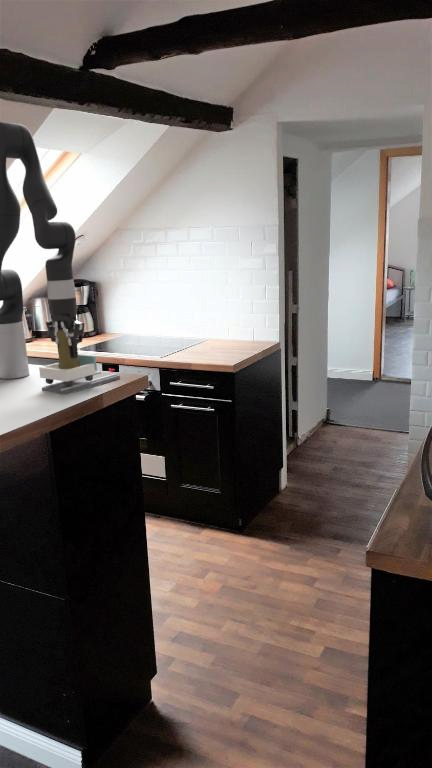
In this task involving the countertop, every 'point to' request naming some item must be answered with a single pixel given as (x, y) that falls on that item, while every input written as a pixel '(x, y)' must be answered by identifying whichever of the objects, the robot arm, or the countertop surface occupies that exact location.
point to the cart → (70, 371)
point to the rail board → (80, 383)
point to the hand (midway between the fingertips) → (68, 357)
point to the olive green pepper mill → (65, 352)
